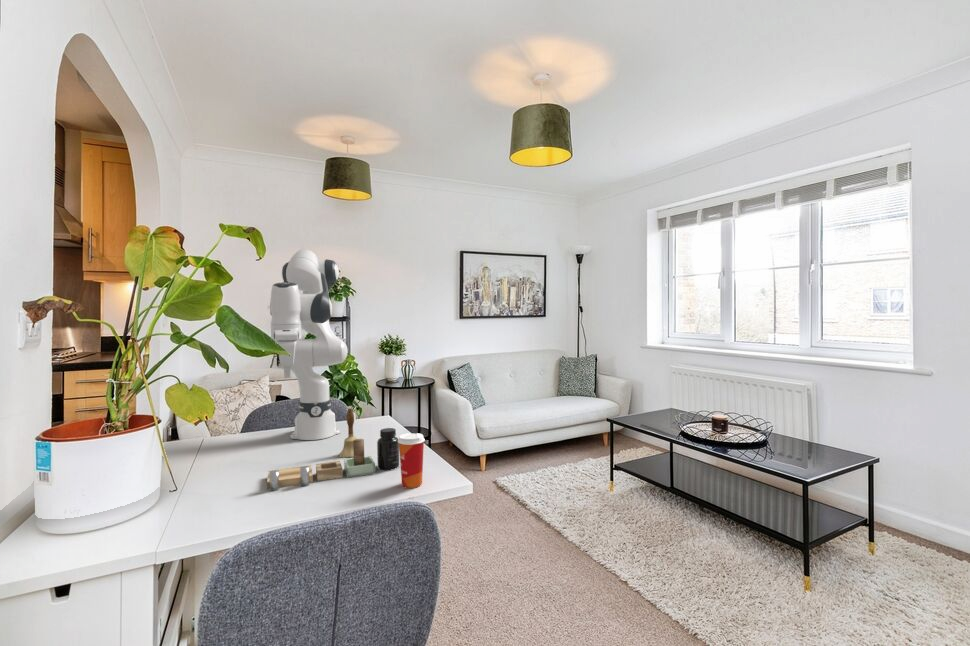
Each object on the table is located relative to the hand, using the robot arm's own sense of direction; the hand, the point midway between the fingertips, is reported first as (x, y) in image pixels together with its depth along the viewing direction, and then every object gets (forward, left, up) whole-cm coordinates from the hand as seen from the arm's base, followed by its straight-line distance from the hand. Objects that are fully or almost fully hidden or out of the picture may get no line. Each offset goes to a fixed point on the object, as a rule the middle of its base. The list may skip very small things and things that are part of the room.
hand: (287, 377), depth 146 cm
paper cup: (+30, +32, -29) cm, 53 cm away
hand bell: (-7, +20, -29) cm, 36 cm away
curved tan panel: (+11, 0, -30) cm, 31 cm away
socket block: (+12, +11, -29) cm, 33 cm away
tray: (+12, +20, -29) cm, 37 cm away
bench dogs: (+17, 0, -29) cm, 34 cm away
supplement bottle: (+12, +29, -29) cm, 43 cm away
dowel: (+12, +20, -28) cm, 37 cm away
